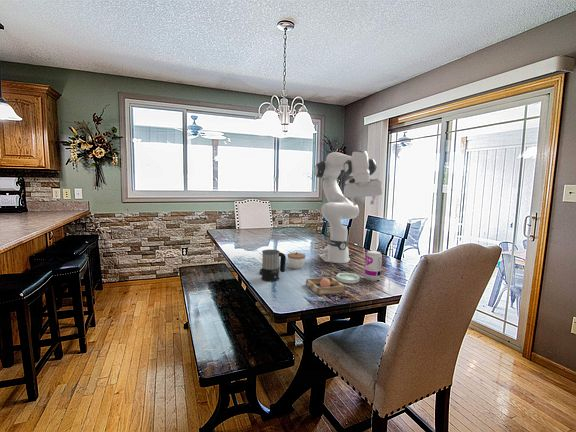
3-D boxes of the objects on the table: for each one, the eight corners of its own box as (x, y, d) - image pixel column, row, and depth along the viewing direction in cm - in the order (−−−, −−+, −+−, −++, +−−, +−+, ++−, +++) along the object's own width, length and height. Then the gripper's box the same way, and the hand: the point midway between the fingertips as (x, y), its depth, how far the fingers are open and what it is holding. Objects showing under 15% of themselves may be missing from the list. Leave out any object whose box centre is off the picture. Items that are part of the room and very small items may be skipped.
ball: (318, 287, 146) (318, 277, 146) (327, 286, 148) (327, 276, 148) (322, 290, 142) (323, 280, 141) (332, 289, 143) (332, 279, 143)
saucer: (332, 277, 163) (332, 273, 163) (351, 275, 167) (351, 272, 167) (343, 284, 152) (343, 280, 151) (363, 282, 156) (364, 278, 155)
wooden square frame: (306, 284, 149) (306, 278, 149) (331, 282, 154) (331, 276, 153) (318, 294, 136) (318, 288, 136) (344, 292, 141) (345, 286, 140)
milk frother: (271, 283, 150) (272, 254, 148) (248, 276, 159) (248, 249, 157) (287, 276, 161) (288, 249, 160) (265, 270, 170) (265, 245, 169)
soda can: (369, 282, 157) (371, 254, 155) (361, 277, 165) (363, 250, 163) (383, 281, 159) (385, 253, 158) (374, 276, 167) (376, 250, 165)
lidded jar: (298, 271, 172) (298, 255, 171) (283, 267, 178) (284, 252, 177) (308, 267, 180) (309, 252, 179) (294, 264, 187) (294, 249, 186)
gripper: (379, 178, 166) (381, 203, 166) (342, 181, 167) (344, 206, 167) (382, 177, 160) (384, 203, 160) (344, 180, 160) (346, 206, 161)
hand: (363, 205), depth 163 cm, fingers open, 8 cm apart
